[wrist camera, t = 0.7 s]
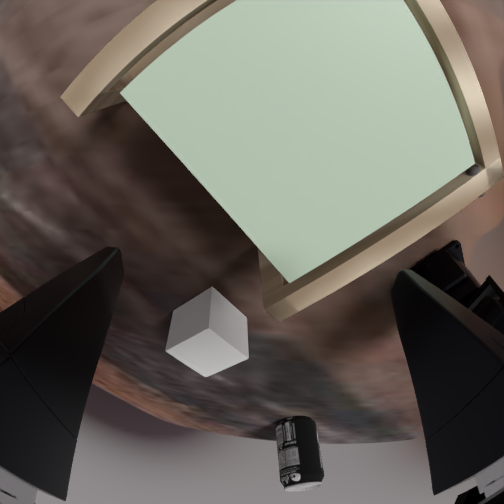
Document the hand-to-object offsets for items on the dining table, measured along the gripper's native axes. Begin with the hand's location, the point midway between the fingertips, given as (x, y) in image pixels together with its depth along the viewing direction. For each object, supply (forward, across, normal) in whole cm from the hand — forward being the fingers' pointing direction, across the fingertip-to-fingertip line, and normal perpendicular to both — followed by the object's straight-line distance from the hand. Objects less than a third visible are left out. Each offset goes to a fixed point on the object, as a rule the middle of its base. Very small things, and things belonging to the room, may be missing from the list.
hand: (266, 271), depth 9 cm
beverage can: (+14, -12, +41) cm, 44 cm away
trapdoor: (+7, -3, -4) cm, 8 cm away
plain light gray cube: (+13, +2, +15) cm, 20 cm away
